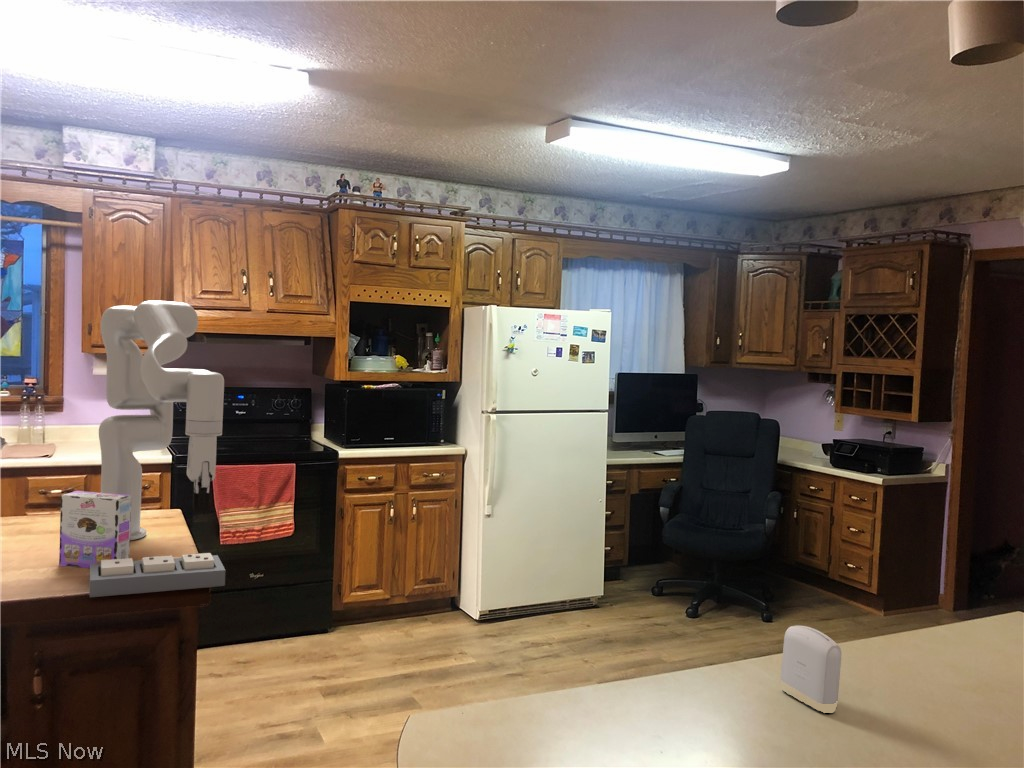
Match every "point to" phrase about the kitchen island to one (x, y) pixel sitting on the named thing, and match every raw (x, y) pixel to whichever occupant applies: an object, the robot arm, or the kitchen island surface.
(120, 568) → the tile
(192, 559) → the tile
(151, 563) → the tile
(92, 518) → the candy box
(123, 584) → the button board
